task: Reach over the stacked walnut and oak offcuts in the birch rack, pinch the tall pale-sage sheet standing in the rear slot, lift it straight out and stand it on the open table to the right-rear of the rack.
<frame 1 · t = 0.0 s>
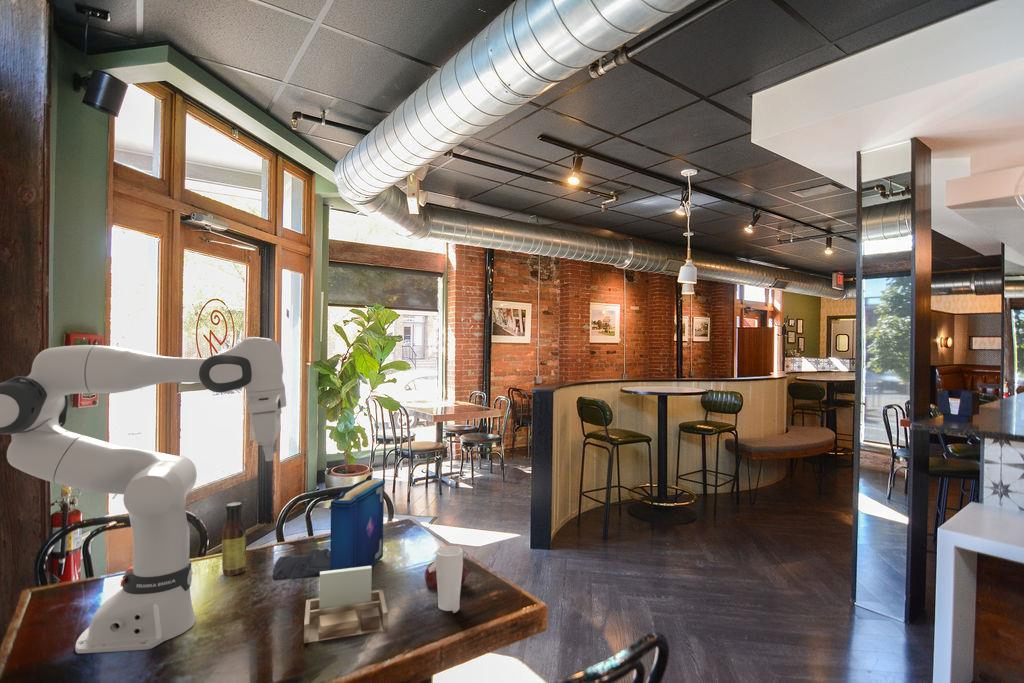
hand: (271, 456, 132), 39 cm above the table, tool pointing down, fingers open, 8 cm apart
offcut small: (369, 625, 124), point 1 cm above the table, touching rack
heart: (444, 586, 148), on the table
dark slate chunk: (313, 569, 159), on the table
drinking glass: (448, 611, 134), on the table
sheet: (345, 615, 128), point 1 cm above the table, touching rack
offcut low: (337, 630, 121), point 1 cm above the table, touching offcut top, rack
sauce bottle: (233, 572, 155), on the table
book: (356, 573, 156), on the table
offcut top: (338, 624, 121), point 3 cm above the table, touching offcut low
rack: (345, 628, 125), on the table
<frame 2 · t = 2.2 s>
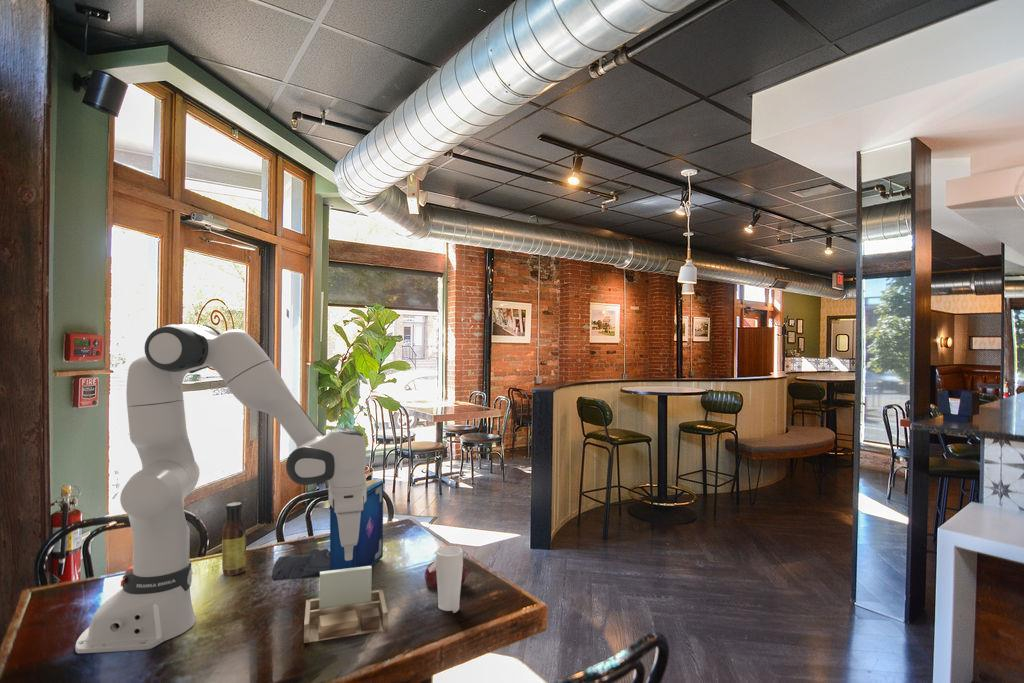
hand: (347, 551, 129), 17 cm above the table, tool pointing down, fingers open, 8 cm apart
nothing on the table moved.
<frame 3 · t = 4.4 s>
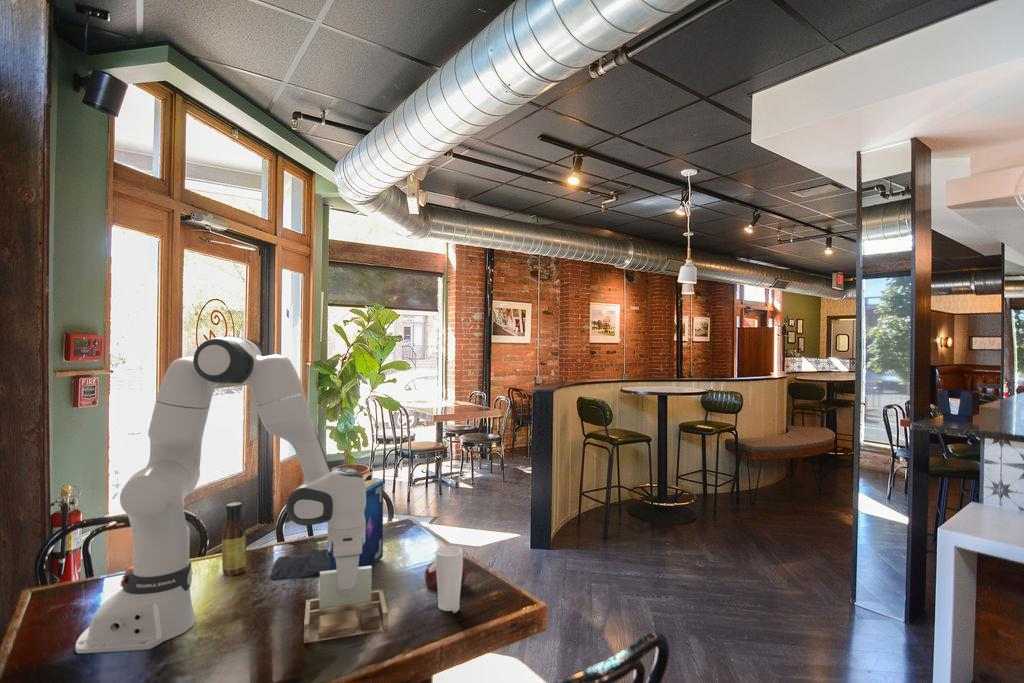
hand: (345, 593, 128), 7 cm above the table, tool pointing down, fingers closed on sheet, 2 cm apart
sheet: (345, 615, 128), point 1 cm above the table, touching gripper, rack
everything else where it was.
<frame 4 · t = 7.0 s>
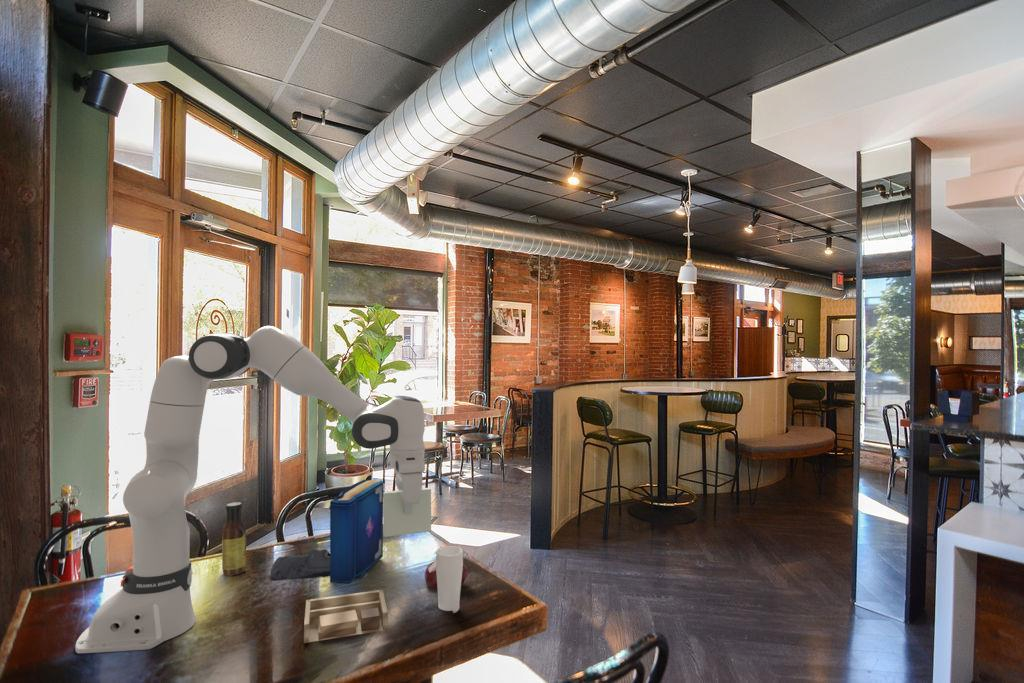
hand: (407, 512, 137), 24 cm above the table, tool pointing down, fingers closed on sheet
sheet: (407, 533, 137), point 19 cm above the table, touching gripper
everything else where it was.
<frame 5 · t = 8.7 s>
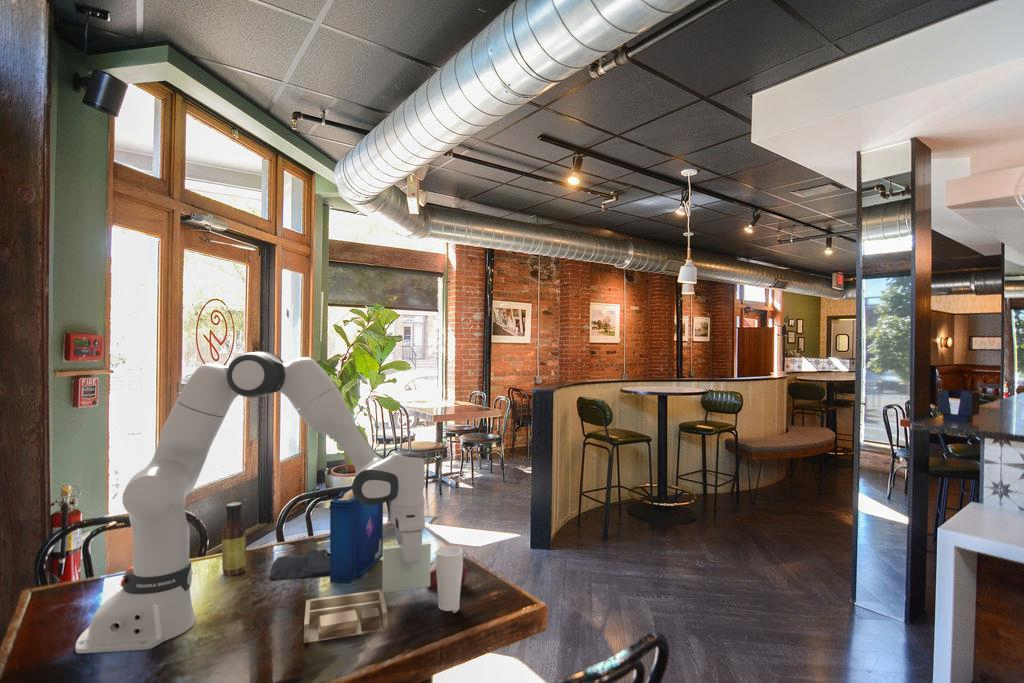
hand: (406, 567, 137), 10 cm above the table, tool pointing down, fingers closed on sheet
sheet: (406, 588, 137), point 4 cm above the table, touching gripper
everything else where it was.
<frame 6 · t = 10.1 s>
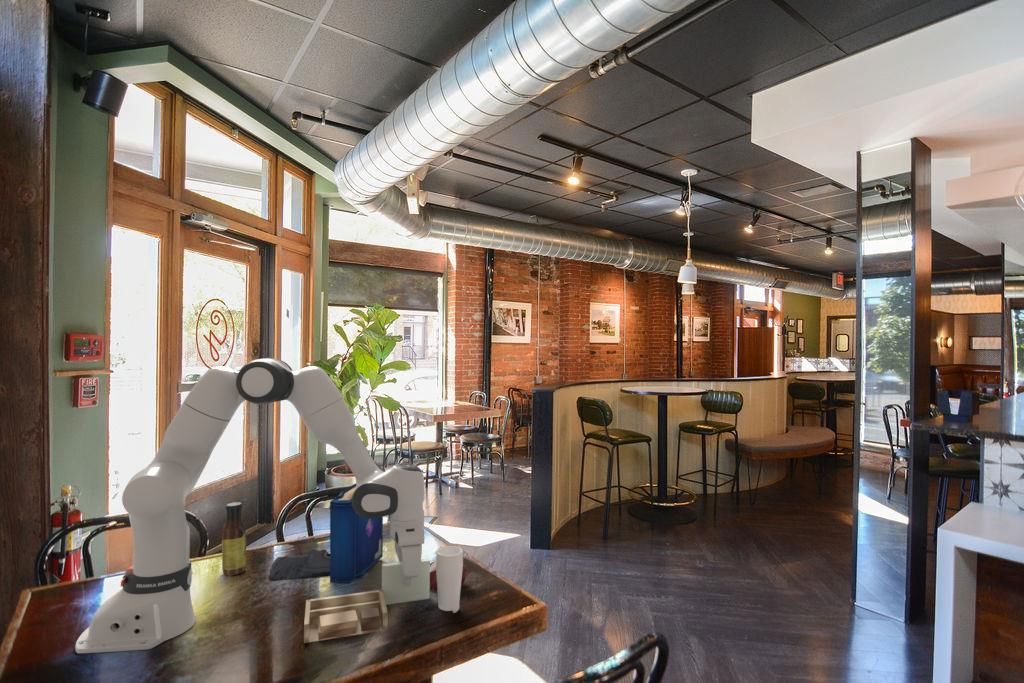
hand: (405, 580, 136), 6 cm above the table, tool pointing down, fingers open, 4 cm apart
sheet: (405, 605, 136), on the table
everything else where it was.
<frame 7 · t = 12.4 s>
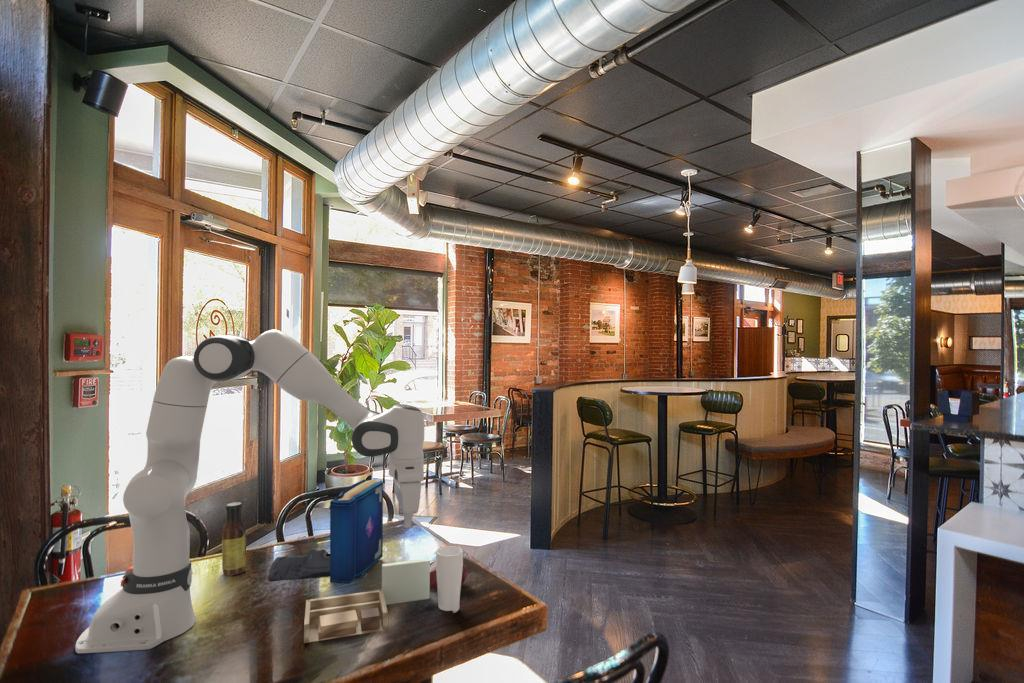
hand: (404, 521, 137), 22 cm above the table, tool pointing down, fingers open, 8 cm apart
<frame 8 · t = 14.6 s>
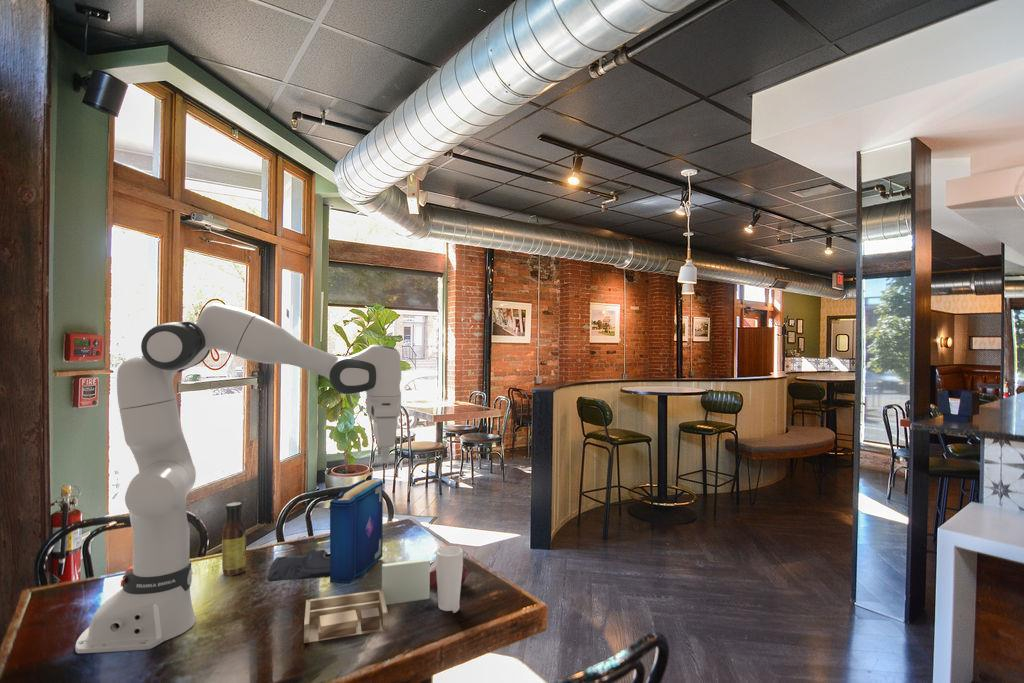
hand: (382, 459, 139), 37 cm above the table, tool pointing down, fingers open, 8 cm apart
at the end: sheet inside the target area (0.0 cm from its centre), on the table; sheet moved 15.4 cm from its start; the gripper is holding nothing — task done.
